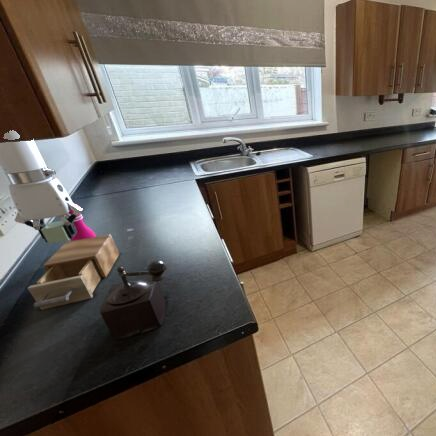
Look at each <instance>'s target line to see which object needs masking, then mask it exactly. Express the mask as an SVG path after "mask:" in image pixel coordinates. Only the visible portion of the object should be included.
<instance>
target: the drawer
mask: <svg viewBox="0 0 436 436" xmlns="http://www.w3.org/2000/svg"><path fill="white" fill-rule="evenodd" d="M102 278H103V277H102V275H101V273H100V270H99V268H98V266H97V264H96V262H95V260H94V258H92V259H86V260H81V261H76V262H71V263H65V264H60V265H55V266H52V267H51V268H50V269H49V270H48V271H45V273H44V274H43V275H42V276H41V277H40V278H39V279H38V280H37V281H36V284H31V285H29V286H28V287H27V290H28V292H29V294H31V296H32V297H33V299H34V300H35V302H34V303H33V307H34V309H35V308H36V309H38V308H39V309H40V310H46V309H51V308H54V307H59V306H64V305H67V304H68V305H69V304H72V303H73V304H74V303H77V302H82V301H86V300H90V299H93V297H94V294H93V293H94V291H95V290H96V287H98V285H99V284H100V281H101V280H102Z"/></svg>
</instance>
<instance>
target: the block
mask: <svg viewBox="0 0 436 436" xmlns="http://www.w3.org/2000/svg"><path fill="white" fill-rule="evenodd" d="M45 225H46V226H45V227H44V228H42V229H41V231H42V232H43V234H44V236H45V238H46V240H47V242H46V243H47V244H49V245H50V244H56V243H61V242H68V241H71V238H69V236H68V235H67V233H66V231H65V229H64V226H65V224H64V223H63V222H62V221H61V220H59V221H52V222H49V223H47V224H45Z"/></svg>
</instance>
